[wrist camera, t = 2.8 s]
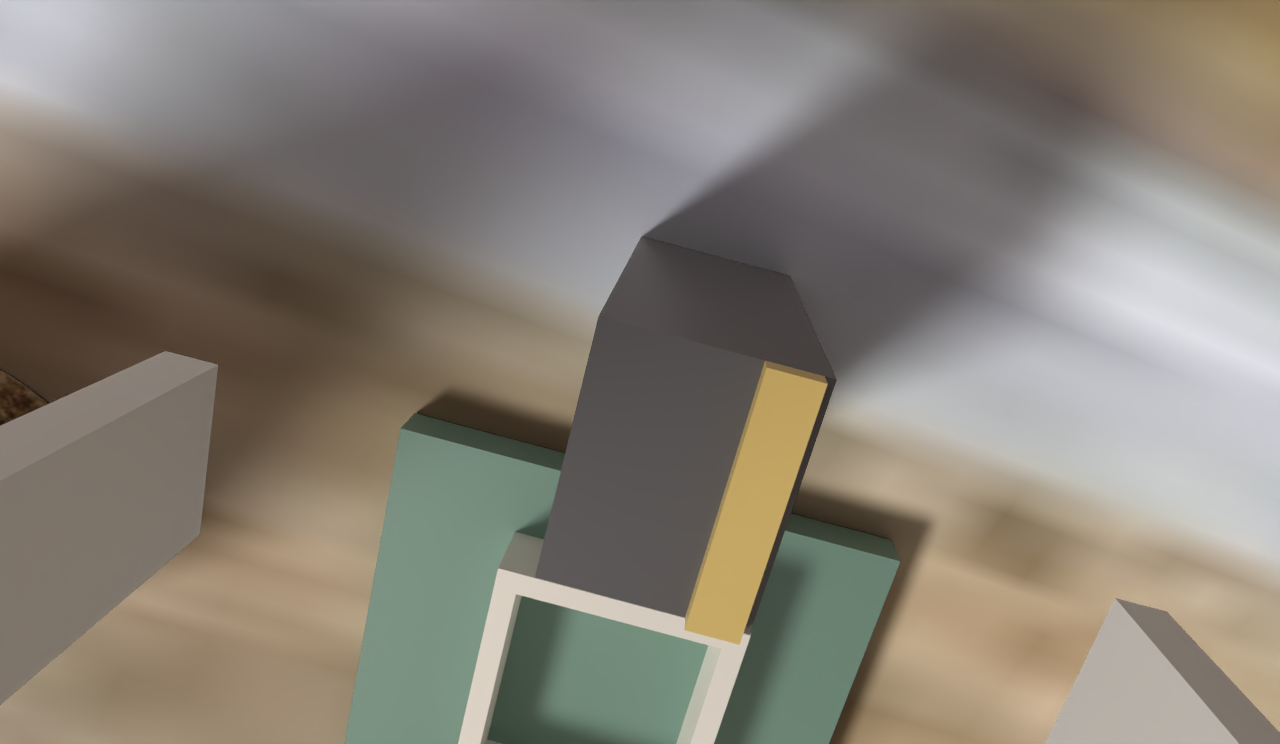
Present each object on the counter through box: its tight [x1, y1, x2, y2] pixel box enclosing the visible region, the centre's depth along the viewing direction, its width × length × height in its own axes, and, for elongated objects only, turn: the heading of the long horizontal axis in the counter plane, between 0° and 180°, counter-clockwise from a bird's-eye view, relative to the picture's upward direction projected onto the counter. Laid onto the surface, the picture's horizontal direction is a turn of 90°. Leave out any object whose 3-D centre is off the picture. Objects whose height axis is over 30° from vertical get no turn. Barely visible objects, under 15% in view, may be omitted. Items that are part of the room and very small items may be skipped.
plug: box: [535, 237, 837, 645], centre depth 19 cm, size 5×4×9 cm
